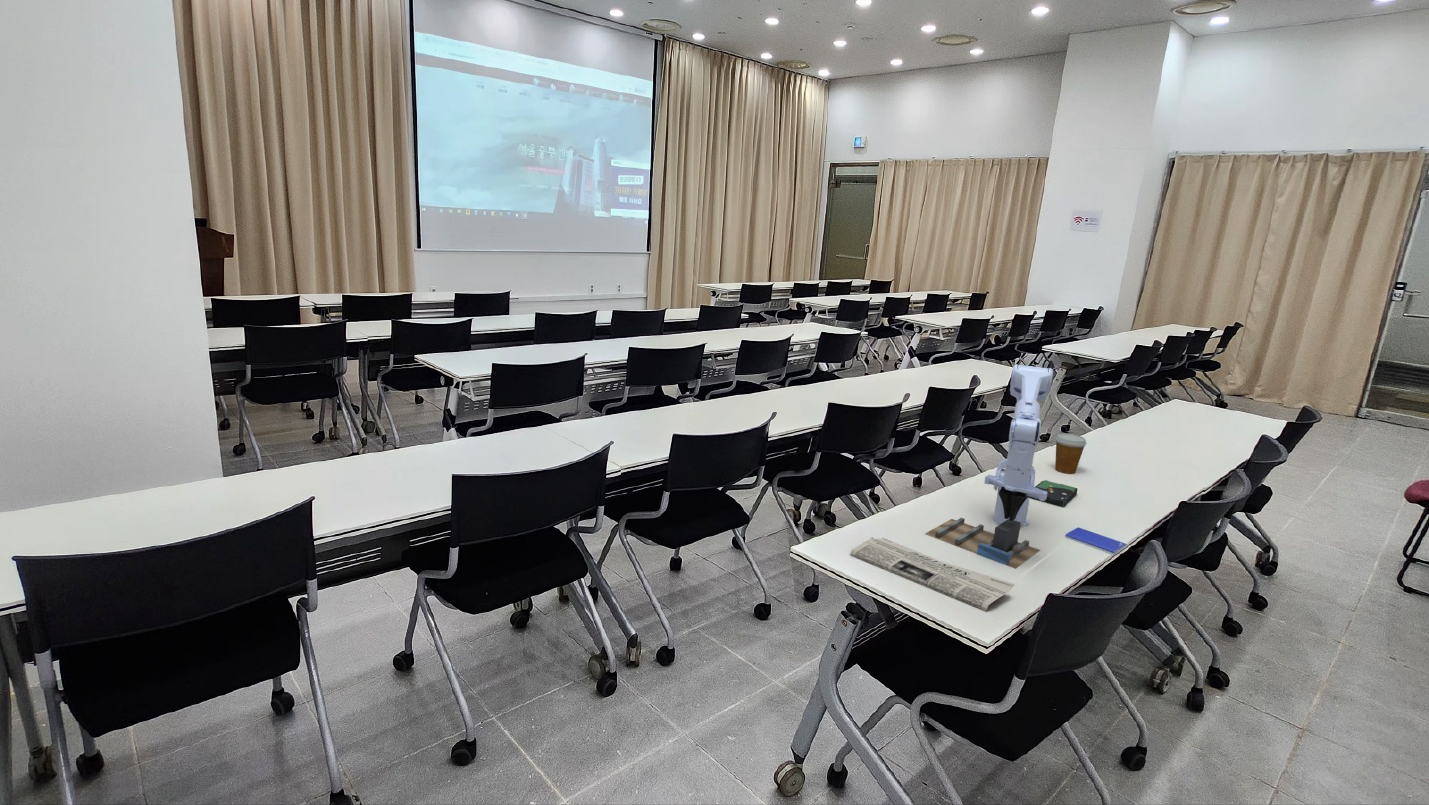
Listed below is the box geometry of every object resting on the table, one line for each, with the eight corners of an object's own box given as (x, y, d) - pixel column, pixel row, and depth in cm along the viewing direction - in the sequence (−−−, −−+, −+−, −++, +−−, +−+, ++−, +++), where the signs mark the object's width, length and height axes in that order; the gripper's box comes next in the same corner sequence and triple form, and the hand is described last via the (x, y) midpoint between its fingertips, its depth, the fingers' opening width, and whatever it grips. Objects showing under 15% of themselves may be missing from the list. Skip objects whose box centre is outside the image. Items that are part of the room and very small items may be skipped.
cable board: (951, 521, 193) (953, 510, 192) (1039, 553, 177) (1042, 541, 176) (923, 536, 183) (925, 525, 182) (1015, 571, 167) (1017, 559, 166)
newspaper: (849, 557, 171) (851, 544, 170) (876, 542, 180) (878, 529, 179) (992, 616, 148) (995, 601, 147) (1014, 595, 157) (1017, 581, 156)
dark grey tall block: (1004, 543, 179) (1009, 518, 178) (1016, 548, 177) (1021, 522, 176) (991, 553, 174) (995, 527, 172) (1002, 557, 172) (1007, 531, 170)
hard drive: (1127, 543, 183) (1078, 526, 192) (1114, 551, 178) (1065, 533, 187) (1126, 548, 183) (1077, 531, 192) (1113, 557, 178) (1064, 539, 187)
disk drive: (1063, 510, 207) (1076, 495, 218) (1065, 501, 206) (1078, 487, 217) (1027, 499, 213) (1041, 486, 224) (1028, 491, 213) (1043, 478, 224)
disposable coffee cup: (1057, 464, 246) (1063, 431, 243) (1085, 472, 239) (1092, 438, 235) (1044, 469, 240) (1050, 435, 237) (1073, 477, 233) (1079, 443, 230)
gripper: (982, 462, 172) (974, 513, 176) (1042, 479, 162) (1033, 533, 166) (995, 456, 177) (987, 506, 181) (1054, 472, 167) (1044, 525, 171)
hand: (1009, 518), depth 174 cm, fingers closed
